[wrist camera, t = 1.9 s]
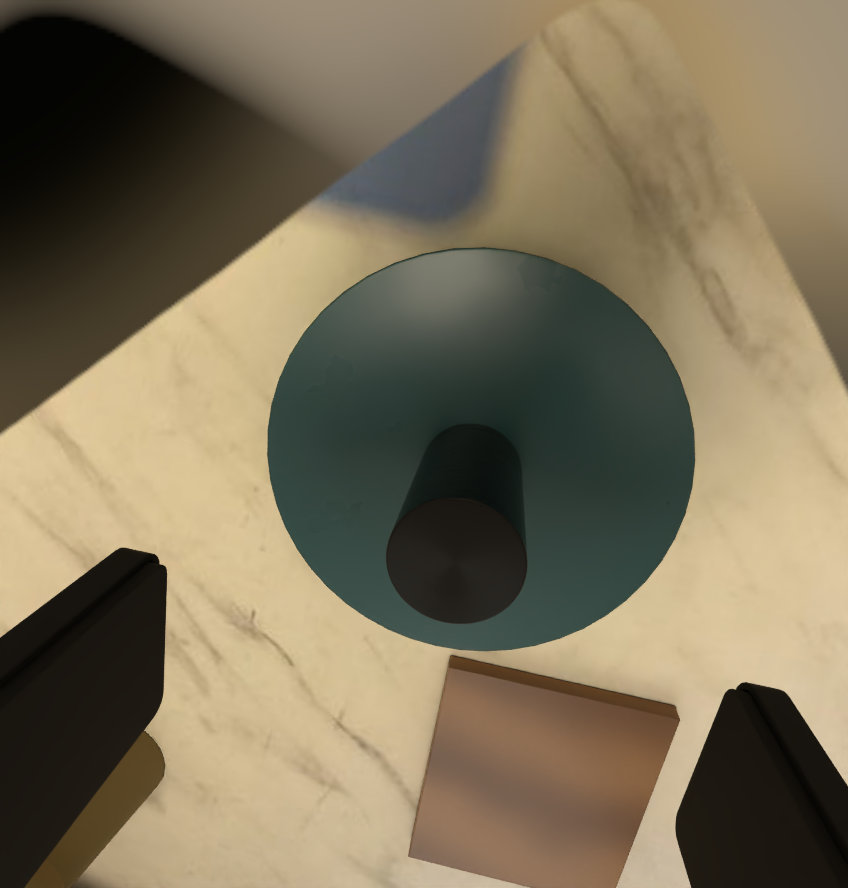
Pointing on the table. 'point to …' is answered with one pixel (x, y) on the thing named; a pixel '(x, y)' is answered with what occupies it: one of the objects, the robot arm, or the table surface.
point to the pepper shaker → (103, 815)
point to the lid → (481, 449)
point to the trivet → (537, 777)
